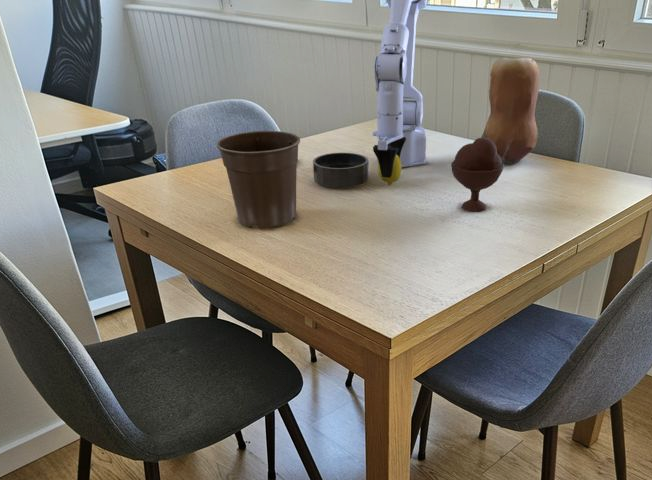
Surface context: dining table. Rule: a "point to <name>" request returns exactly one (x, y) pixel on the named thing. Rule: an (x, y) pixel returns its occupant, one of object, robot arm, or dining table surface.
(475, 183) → the ice cream bowl
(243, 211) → the plant pot
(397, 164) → the lemon
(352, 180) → the bowl
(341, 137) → the dining table surface
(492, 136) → the butternut squash
